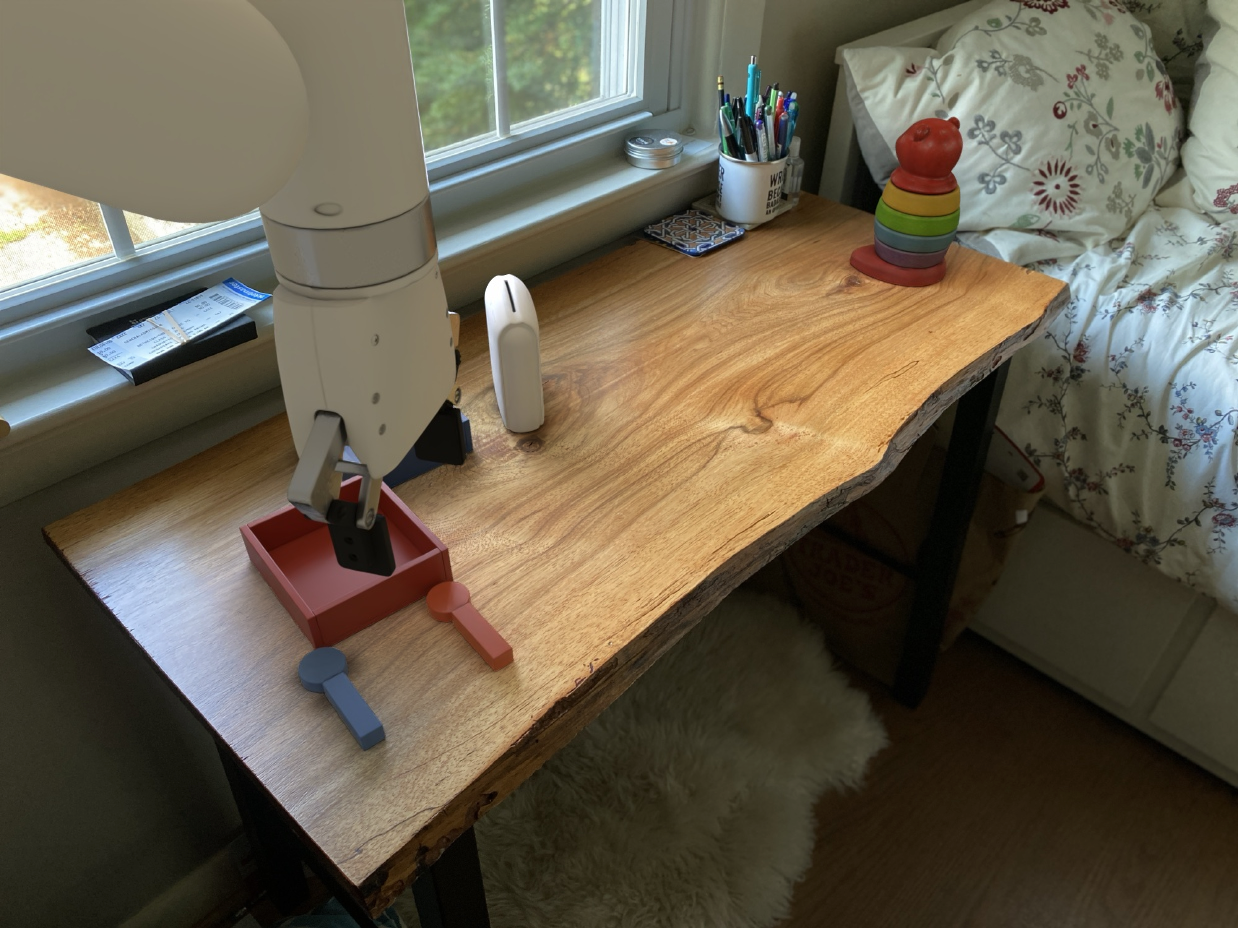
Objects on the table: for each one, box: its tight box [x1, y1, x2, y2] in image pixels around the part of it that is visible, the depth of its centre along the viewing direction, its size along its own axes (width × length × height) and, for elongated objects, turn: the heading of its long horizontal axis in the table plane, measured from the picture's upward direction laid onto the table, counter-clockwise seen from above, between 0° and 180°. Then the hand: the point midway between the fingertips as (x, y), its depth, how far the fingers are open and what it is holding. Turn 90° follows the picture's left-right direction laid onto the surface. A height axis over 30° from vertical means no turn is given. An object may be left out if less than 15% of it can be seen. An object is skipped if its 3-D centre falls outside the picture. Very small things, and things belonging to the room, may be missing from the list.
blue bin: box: [342, 405, 474, 489], centre depth 84 cm, size 11×12×4 cm
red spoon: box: [425, 581, 515, 672], centre depth 67 cm, size 9×3×1 cm, turn 39°
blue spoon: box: [297, 646, 387, 751], centre depth 62 cm, size 9×3×1 cm, turn 39°
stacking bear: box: [849, 116, 964, 287], centre depth 107 cm, size 11×10×18 cm
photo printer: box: [484, 273, 545, 433], centre depth 86 cm, size 10×4×12 cm, turn 13°
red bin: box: [238, 475, 454, 650], centre depth 71 cm, size 11×12×4 cm
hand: (407, 510), depth 54 cm, fingers open, 9 cm apart
